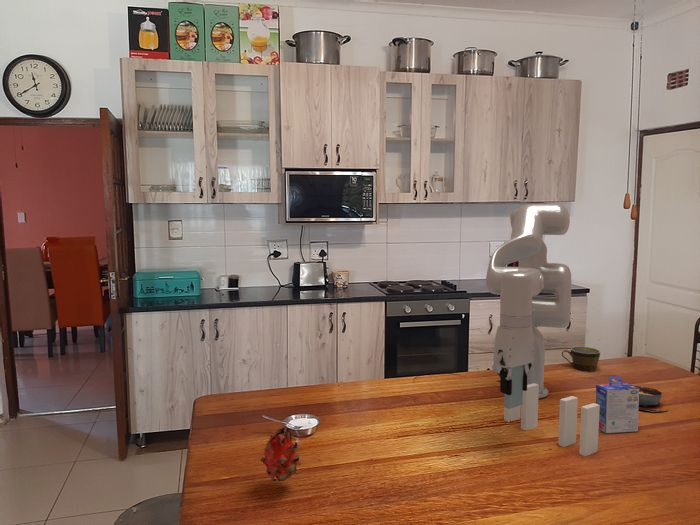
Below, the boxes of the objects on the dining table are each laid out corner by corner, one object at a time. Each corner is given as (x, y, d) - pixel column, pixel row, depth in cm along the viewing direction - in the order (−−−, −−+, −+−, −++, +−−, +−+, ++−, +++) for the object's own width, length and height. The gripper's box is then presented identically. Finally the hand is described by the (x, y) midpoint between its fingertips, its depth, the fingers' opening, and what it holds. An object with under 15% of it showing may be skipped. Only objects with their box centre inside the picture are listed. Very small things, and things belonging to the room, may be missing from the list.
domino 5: (579, 453, 126) (581, 406, 125) (591, 449, 129) (593, 402, 128) (585, 456, 125) (587, 408, 124) (597, 451, 128) (599, 404, 127)
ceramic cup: (597, 374, 192) (598, 348, 191) (601, 382, 183) (602, 354, 182) (560, 370, 196) (561, 345, 196) (561, 378, 187) (562, 351, 186)
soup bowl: (650, 419, 149) (652, 395, 148) (601, 402, 163) (602, 379, 162) (680, 410, 156) (681, 387, 155) (630, 395, 170) (631, 373, 169)
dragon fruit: (266, 494, 107) (266, 439, 106) (256, 476, 115) (256, 424, 114) (305, 486, 111) (305, 432, 110) (293, 468, 118) (292, 418, 117)
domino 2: (503, 421, 147) (505, 380, 146) (515, 417, 149) (517, 377, 148) (508, 423, 145) (509, 381, 144) (520, 419, 148) (521, 379, 147)
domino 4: (558, 444, 131) (560, 399, 130) (570, 440, 134) (572, 395, 133) (563, 447, 130) (565, 401, 129) (575, 442, 133) (577, 397, 132)
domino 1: (503, 406, 129) (505, 360, 128) (517, 402, 132) (518, 357, 130) (508, 409, 128) (510, 362, 126) (522, 404, 130) (523, 359, 129)
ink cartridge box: (625, 424, 145) (627, 374, 144) (639, 432, 140) (641, 380, 138) (593, 426, 144) (595, 375, 142) (605, 434, 138) (608, 381, 137)
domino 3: (520, 428, 142) (522, 386, 141) (532, 424, 144) (534, 383, 143) (525, 430, 140) (526, 387, 139) (537, 426, 143) (538, 384, 142)
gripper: (526, 314, 135) (524, 381, 137) (479, 322, 126) (478, 393, 128) (550, 319, 128) (548, 389, 131) (503, 328, 120) (501, 403, 122)
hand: (513, 390), depth 129 cm, fingers closed on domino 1, 4 cm apart
